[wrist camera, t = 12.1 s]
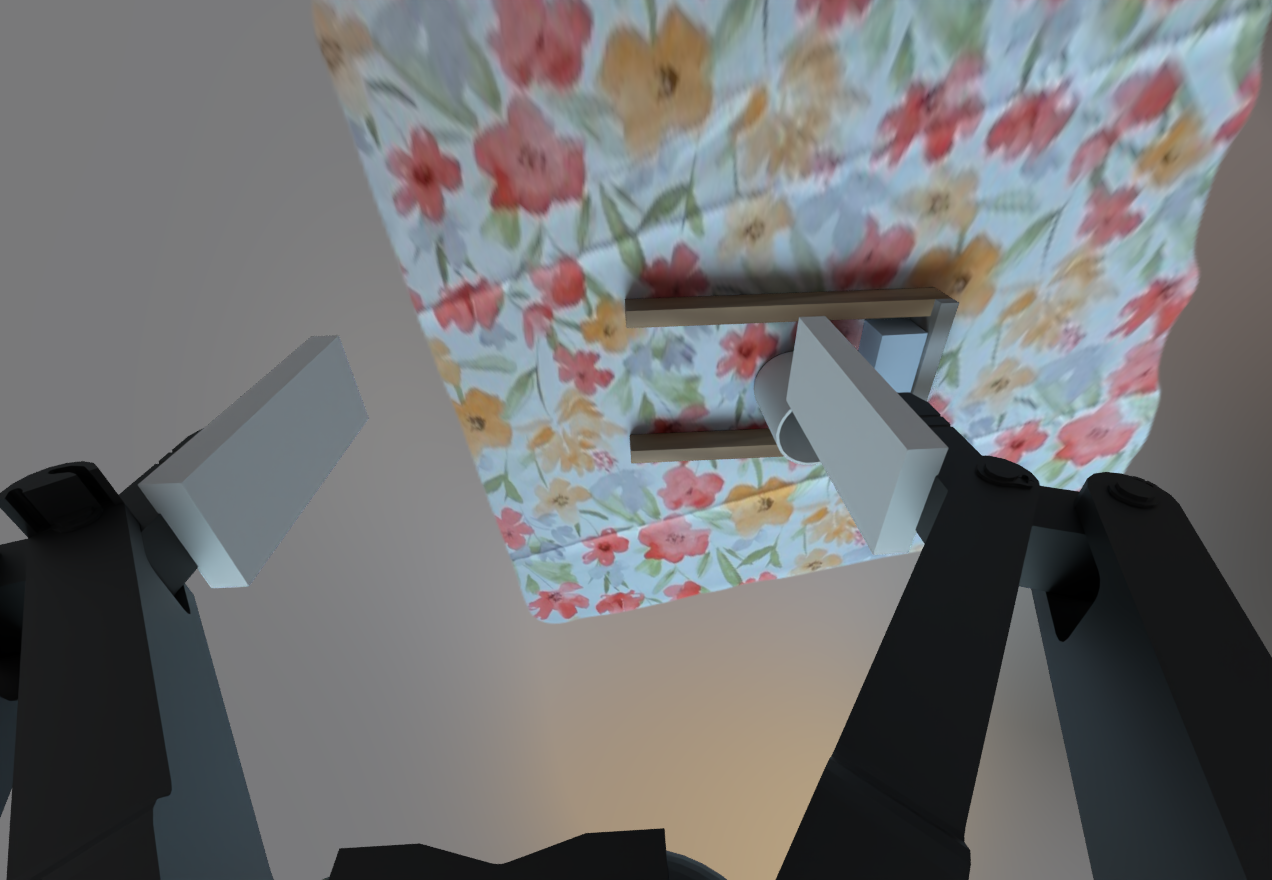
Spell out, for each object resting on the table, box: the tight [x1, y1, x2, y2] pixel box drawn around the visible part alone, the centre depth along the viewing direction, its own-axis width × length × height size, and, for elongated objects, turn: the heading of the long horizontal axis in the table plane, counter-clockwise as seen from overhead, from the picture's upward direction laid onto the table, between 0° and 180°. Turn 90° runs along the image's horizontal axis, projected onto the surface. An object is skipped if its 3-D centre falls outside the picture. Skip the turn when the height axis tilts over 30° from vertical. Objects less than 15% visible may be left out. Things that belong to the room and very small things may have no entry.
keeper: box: [858, 318, 928, 393], centre depth 51 cm, size 11×4×4 cm
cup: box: [754, 351, 821, 465], centre depth 48 cm, size 7×10×9 cm
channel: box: [625, 287, 959, 463], centre depth 50 cm, size 16×28×4 cm, turn 91°
